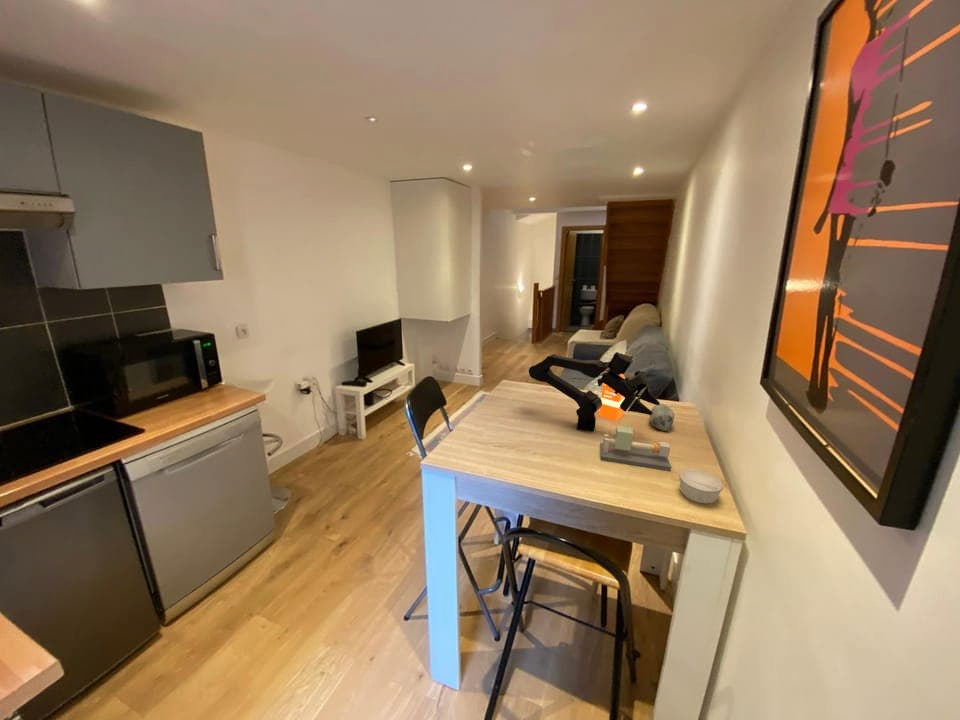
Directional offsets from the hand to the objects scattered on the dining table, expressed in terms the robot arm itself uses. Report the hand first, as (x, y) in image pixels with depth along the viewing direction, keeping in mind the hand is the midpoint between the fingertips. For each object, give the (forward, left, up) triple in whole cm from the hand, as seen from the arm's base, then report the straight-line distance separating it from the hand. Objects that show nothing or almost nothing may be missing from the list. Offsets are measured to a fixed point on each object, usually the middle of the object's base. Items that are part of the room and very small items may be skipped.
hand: (655, 409), depth 135 cm
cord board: (-7, -10, -15) cm, 19 cm away
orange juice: (-12, +25, -15) cm, 32 cm away
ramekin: (+10, -26, -15) cm, 32 cm away
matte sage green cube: (-11, -10, -11) cm, 19 cm away
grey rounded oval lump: (+7, +21, -15) cm, 27 cm away
